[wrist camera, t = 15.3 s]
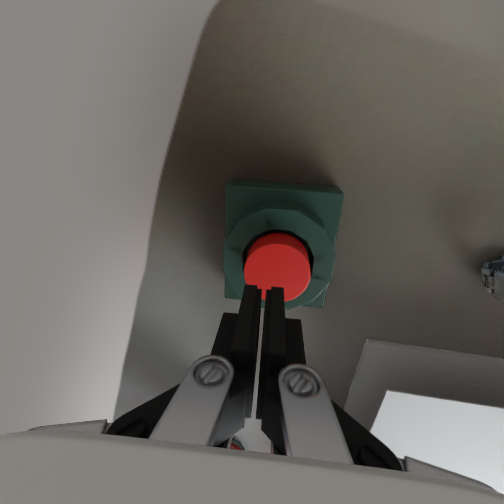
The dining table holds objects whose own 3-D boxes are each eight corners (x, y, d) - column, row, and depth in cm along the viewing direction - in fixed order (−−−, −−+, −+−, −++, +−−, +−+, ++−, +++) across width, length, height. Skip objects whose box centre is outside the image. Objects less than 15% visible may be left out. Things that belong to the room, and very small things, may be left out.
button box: (229, 283, 22) (218, 313, 18) (231, 179, 19) (218, 190, 15) (320, 291, 21) (327, 325, 18) (338, 186, 18) (351, 200, 14)
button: (246, 284, 18) (242, 299, 16) (249, 229, 16) (245, 240, 14) (304, 289, 17) (306, 305, 16) (312, 234, 16) (314, 246, 14)
